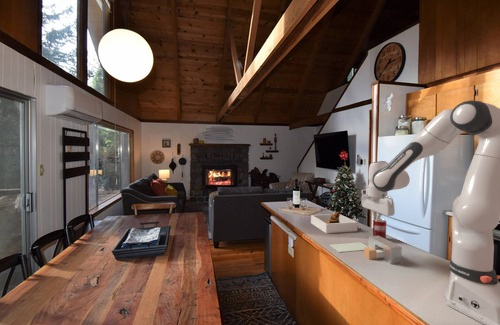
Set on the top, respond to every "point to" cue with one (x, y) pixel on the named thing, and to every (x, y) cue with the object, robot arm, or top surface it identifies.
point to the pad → (349, 247)
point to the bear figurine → (333, 218)
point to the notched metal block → (386, 249)
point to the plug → (373, 253)
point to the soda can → (379, 228)
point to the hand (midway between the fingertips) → (376, 220)
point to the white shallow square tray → (334, 224)
